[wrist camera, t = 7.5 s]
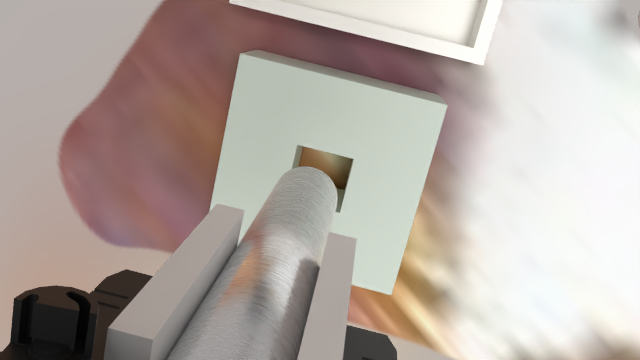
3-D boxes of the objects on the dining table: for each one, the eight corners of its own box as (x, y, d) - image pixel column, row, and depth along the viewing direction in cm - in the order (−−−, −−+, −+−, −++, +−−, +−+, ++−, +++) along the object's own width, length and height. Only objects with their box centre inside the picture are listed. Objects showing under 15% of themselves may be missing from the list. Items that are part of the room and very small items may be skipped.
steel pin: (264, 133, 22) (-33, 432, 6) (370, 160, 22) (340, 534, 6) (244, 232, 23) (-51, 695, 7) (344, 258, 23) (263, 786, 7)
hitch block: (257, 49, 38) (240, 53, 33) (438, 94, 38) (447, 105, 33) (223, 220, 41) (202, 246, 37) (389, 263, 41) (391, 295, 36)
